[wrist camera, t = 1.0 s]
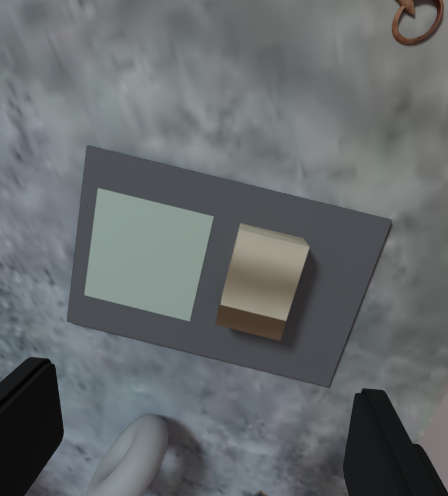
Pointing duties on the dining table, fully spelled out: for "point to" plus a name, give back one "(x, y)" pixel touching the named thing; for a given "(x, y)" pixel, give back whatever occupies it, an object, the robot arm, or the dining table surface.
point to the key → (408, 6)
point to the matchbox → (260, 494)
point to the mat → (212, 263)
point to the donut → (132, 459)
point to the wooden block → (261, 281)
